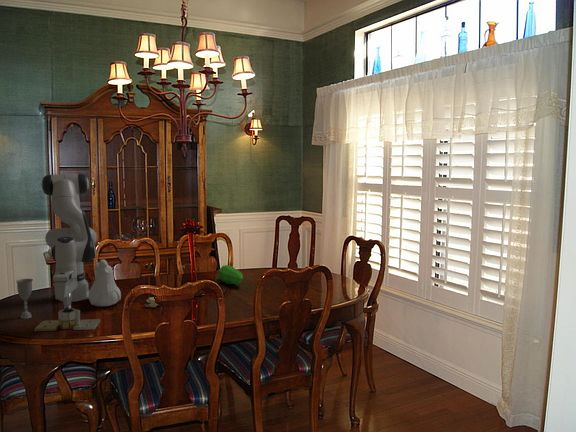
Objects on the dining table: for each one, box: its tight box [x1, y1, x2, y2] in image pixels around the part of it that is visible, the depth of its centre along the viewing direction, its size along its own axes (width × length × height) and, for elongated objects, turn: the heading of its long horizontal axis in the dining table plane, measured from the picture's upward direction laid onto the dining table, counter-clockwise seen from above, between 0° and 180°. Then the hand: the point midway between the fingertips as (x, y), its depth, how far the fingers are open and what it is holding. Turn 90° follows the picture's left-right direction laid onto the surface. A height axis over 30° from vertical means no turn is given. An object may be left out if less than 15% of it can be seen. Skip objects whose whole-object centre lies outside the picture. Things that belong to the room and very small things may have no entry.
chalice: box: [15, 278, 34, 320], centre depth 238 cm, size 7×7×18 cm
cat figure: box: [143, 296, 158, 308], centre depth 262 cm, size 10×9×25 cm
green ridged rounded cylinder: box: [218, 264, 244, 285], centre depth 307 cm, size 11×12×30 cm
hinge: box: [33, 307, 101, 332], centre depth 226 cm, size 11×25×7 cm, turn 97°
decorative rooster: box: [88, 259, 122, 307], centre depth 262 cm, size 25×16×25 cm, turn 19°
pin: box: [63, 293, 72, 313], centre depth 225 cm, size 3×3×10 cm
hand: (67, 303), depth 225 cm, fingers closed on pin, 3 cm apart
